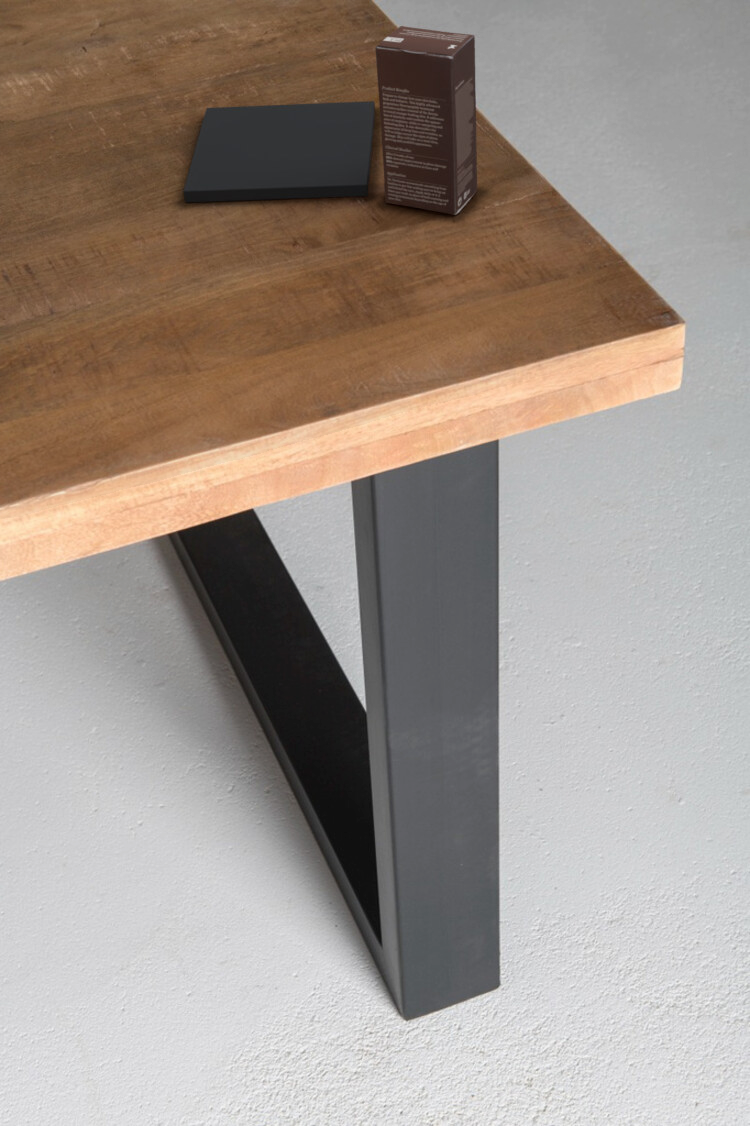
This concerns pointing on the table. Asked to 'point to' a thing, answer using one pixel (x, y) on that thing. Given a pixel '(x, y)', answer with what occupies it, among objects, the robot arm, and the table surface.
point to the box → (428, 118)
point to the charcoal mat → (282, 152)
